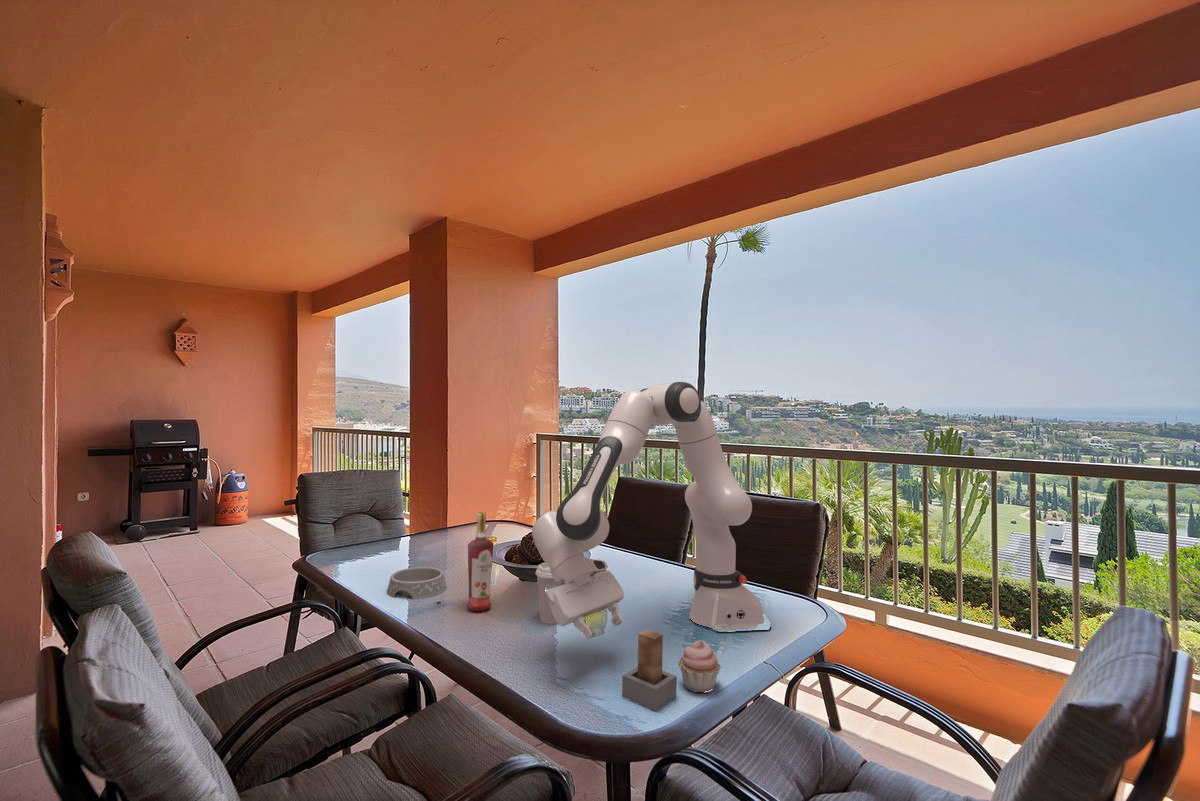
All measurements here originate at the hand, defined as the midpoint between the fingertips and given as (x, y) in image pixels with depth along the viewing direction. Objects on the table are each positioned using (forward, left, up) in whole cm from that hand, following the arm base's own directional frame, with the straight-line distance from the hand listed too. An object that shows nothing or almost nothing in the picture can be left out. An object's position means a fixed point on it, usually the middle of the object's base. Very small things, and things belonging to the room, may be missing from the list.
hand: (605, 630), depth 119 cm
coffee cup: (+16, -32, -11) cm, 37 cm away
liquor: (+38, -38, -11) cm, 54 cm away
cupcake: (-20, +2, -11) cm, 23 cm away
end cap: (-9, +7, -10) cm, 16 cm away
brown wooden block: (-9, +7, -10) cm, 15 cm away
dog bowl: (+62, -53, -11) cm, 82 cm away
